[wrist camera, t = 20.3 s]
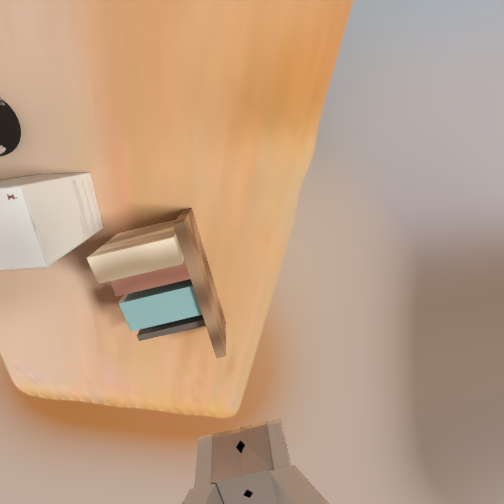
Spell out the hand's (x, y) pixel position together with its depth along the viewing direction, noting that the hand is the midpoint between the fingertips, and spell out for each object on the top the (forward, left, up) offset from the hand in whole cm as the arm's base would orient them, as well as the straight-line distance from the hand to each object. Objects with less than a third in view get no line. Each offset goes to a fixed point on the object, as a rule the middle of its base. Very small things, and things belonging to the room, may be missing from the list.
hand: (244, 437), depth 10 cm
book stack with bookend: (+5, -9, -30) cm, 32 cm away
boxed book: (+6, -10, -30) cm, 32 cm away
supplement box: (-8, -19, -30) cm, 36 cm away
